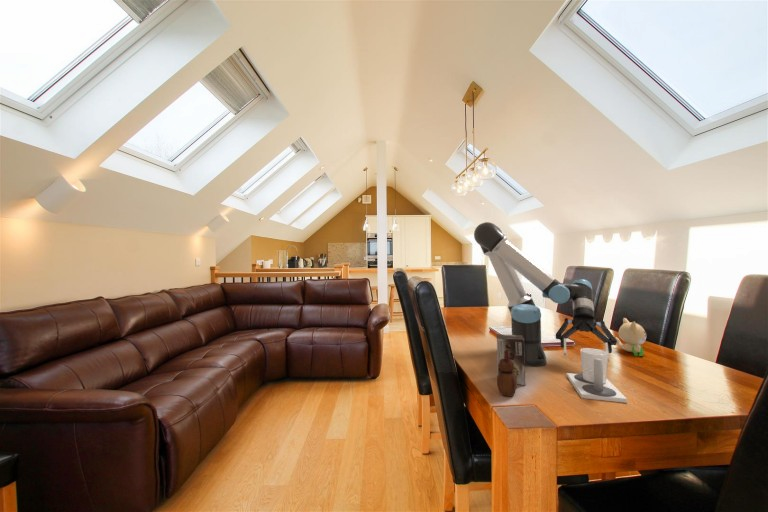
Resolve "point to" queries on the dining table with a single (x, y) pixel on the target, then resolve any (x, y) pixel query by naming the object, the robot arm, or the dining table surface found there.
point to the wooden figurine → (506, 377)
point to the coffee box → (512, 354)
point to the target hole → (581, 378)
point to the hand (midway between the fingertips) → (585, 357)
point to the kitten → (632, 337)
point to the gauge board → (590, 396)
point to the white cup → (592, 363)
